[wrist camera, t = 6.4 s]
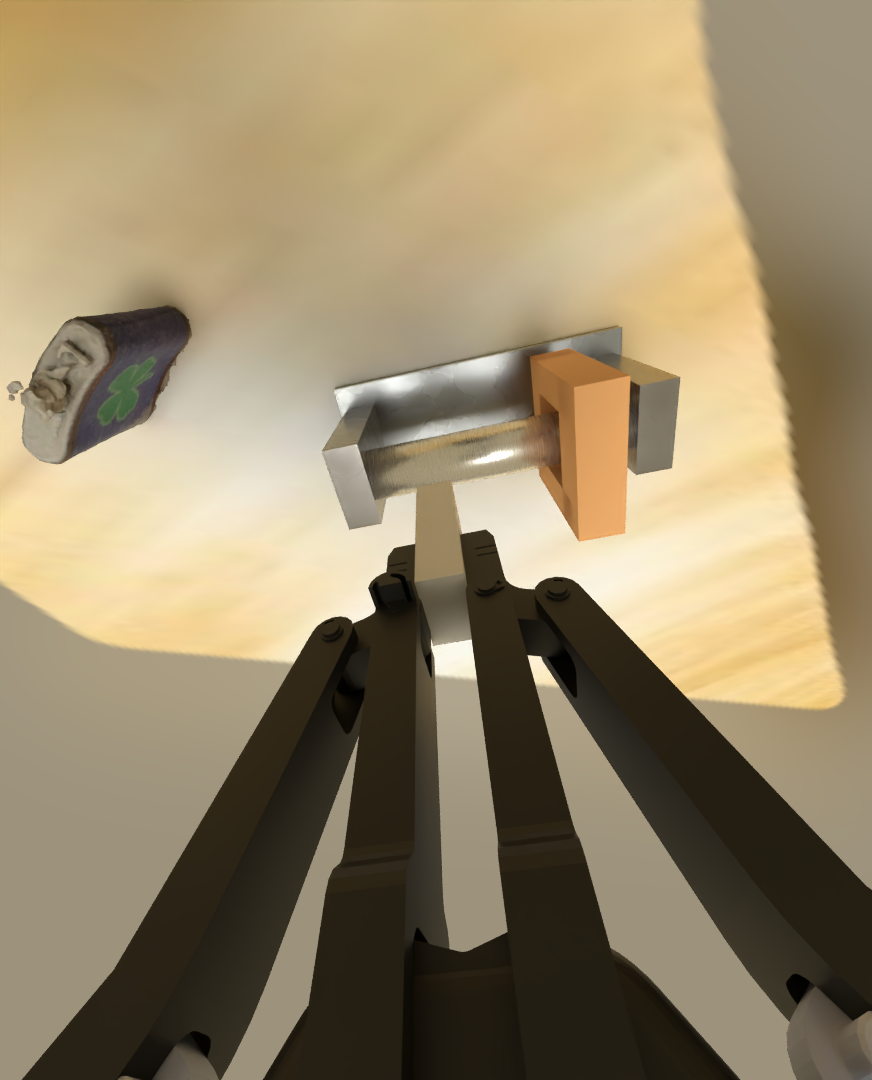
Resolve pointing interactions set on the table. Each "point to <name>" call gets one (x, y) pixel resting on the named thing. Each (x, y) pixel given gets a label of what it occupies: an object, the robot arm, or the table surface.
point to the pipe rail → (478, 424)
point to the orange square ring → (586, 439)
